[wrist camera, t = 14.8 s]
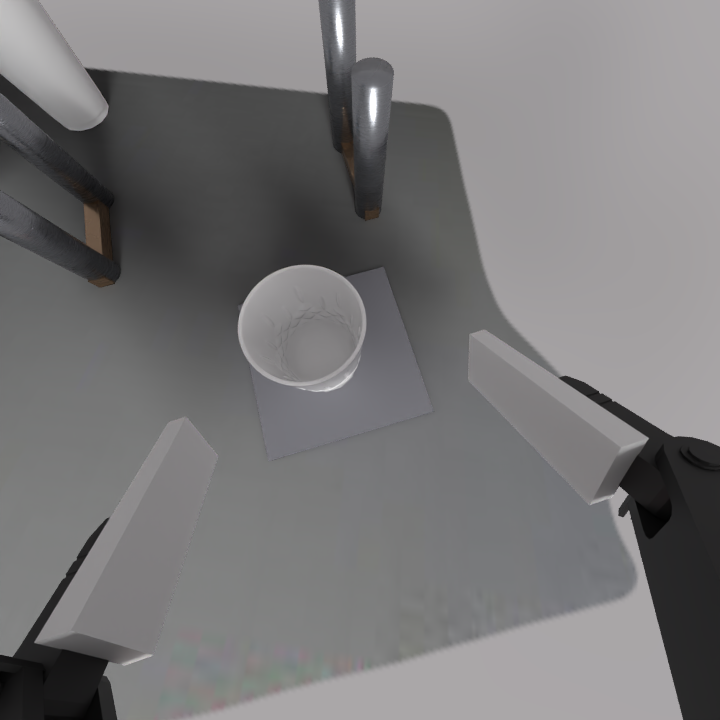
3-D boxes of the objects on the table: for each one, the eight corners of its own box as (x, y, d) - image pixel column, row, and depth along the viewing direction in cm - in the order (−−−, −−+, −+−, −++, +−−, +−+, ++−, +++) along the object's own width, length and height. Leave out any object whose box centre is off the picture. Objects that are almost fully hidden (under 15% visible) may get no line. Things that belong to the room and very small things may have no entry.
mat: (269, 460, 24) (268, 461, 23) (239, 306, 27) (237, 305, 27) (432, 411, 25) (434, 411, 24) (383, 268, 28) (383, 266, 28)
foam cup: (70, 152, 32) (-122, -23, 19) (33, 112, 33) (-168, -75, 21) (134, 111, 33) (-5, -77, 21) (96, 75, 35) (-55, -122, 22)
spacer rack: (93, 289, 28) (-104, 194, 16) (87, 193, 30) (-84, 53, 19) (384, 215, 30) (399, 82, 18) (353, 132, 32) (349, -30, 21)
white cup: (304, 310, 27) (271, 248, 17) (375, 336, 26) (384, 287, 16) (271, 381, 25) (214, 357, 15) (346, 410, 24) (337, 406, 15)
